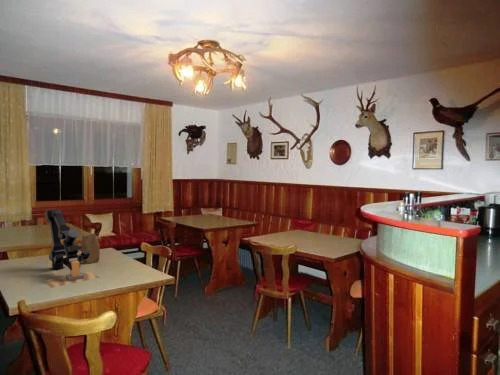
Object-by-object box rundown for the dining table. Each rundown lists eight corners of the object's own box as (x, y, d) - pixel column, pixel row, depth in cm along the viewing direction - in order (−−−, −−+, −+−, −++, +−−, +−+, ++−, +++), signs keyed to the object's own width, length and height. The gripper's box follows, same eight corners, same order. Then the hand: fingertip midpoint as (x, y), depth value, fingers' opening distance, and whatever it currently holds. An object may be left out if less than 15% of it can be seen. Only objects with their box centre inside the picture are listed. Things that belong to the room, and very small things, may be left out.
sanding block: (69, 281, 203) (68, 264, 203) (65, 278, 209) (65, 261, 208) (84, 278, 209) (83, 261, 208) (80, 275, 214) (80, 259, 213)
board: (51, 289, 193) (51, 287, 193) (43, 282, 204) (43, 280, 204) (99, 279, 211) (99, 277, 211) (89, 273, 222) (89, 271, 222)
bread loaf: (84, 264, 240) (83, 235, 239) (81, 262, 246) (80, 233, 245) (100, 262, 247) (100, 233, 246) (97, 259, 253) (96, 232, 252)
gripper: (54, 241, 204) (60, 264, 196) (88, 237, 216) (95, 259, 209) (51, 252, 210) (56, 275, 203) (84, 247, 223) (90, 269, 215)
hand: (75, 269), depth 207 cm, fingers closed on sanding block, 4 cm apart
